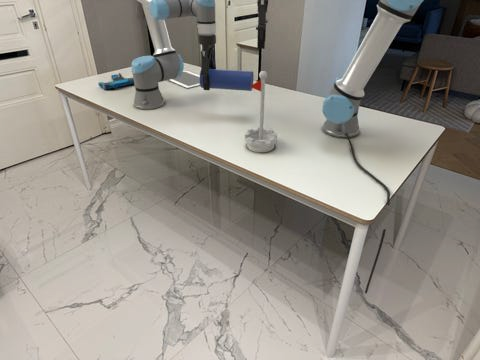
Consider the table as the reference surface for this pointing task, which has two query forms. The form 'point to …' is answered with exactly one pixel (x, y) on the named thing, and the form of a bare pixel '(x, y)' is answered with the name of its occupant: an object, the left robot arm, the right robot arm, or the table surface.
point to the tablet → (187, 79)
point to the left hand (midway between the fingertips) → (209, 86)
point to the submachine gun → (116, 82)
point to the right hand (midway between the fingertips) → (261, 44)
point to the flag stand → (261, 124)
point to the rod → (229, 79)
